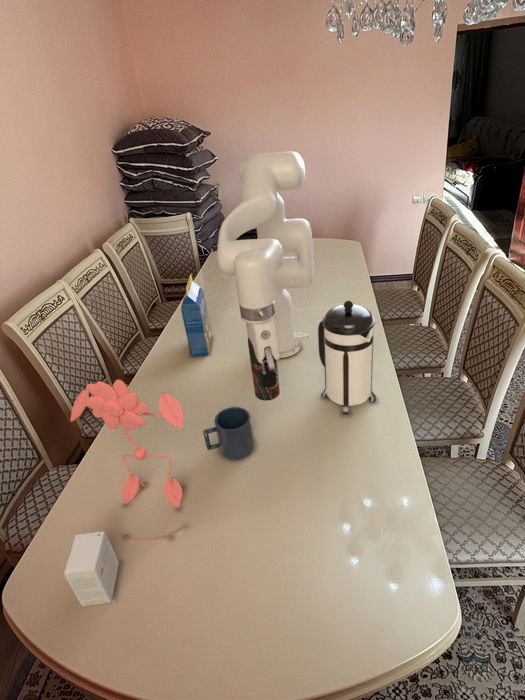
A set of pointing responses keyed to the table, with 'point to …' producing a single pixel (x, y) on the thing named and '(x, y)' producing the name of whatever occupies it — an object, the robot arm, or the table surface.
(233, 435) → the mug
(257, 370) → the deodorant
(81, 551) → the small box
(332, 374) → the coffee press
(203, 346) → the blue food package
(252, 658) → the table surface
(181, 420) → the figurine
